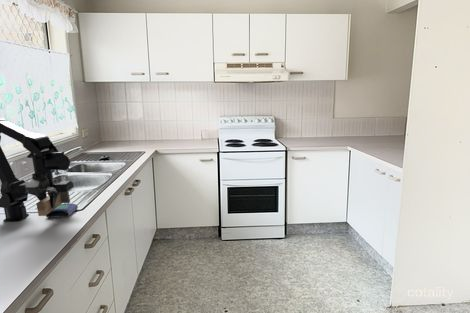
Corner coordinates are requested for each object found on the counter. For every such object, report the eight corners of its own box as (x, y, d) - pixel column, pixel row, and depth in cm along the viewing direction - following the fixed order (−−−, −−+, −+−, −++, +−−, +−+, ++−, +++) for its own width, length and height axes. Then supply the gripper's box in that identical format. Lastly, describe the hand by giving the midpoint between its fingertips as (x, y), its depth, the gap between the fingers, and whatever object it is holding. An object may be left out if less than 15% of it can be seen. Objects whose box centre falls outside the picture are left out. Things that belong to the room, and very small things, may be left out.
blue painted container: (68, 217, 129) (80, 207, 139) (67, 210, 128) (79, 201, 139) (45, 218, 129) (58, 208, 139) (44, 211, 128) (57, 201, 138)
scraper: (52, 215, 119) (49, 200, 117) (31, 216, 119) (28, 201, 117) (70, 201, 131) (68, 188, 130) (51, 202, 132) (48, 188, 130)
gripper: (3, 175, 112) (11, 216, 116) (55, 174, 112) (61, 215, 116) (23, 167, 123) (30, 205, 127) (71, 166, 123) (77, 204, 126)
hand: (49, 207), depth 124 cm, fingers closed on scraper, 2 cm apart
